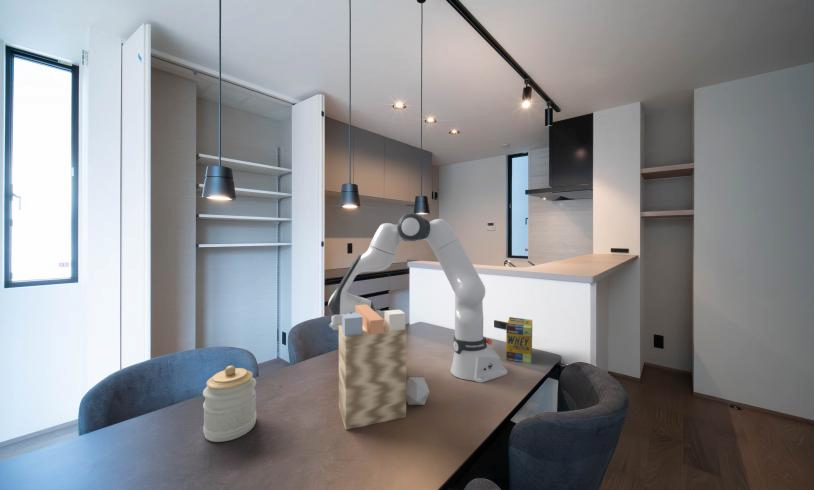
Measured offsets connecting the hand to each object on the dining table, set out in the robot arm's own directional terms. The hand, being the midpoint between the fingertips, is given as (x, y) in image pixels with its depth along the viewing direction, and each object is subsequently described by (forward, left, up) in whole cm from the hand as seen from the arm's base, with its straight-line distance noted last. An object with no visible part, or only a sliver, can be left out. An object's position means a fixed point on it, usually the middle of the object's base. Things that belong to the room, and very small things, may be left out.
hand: (364, 313), depth 105 cm
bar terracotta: (0, +6, -2) cm, 6 cm away
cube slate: (+6, +13, -2) cm, 14 cm away
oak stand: (0, +10, -28) cm, 30 cm away
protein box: (-74, -11, -28) cm, 80 cm away
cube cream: (-7, +13, -2) cm, 14 cm away
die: (-15, +10, -28) cm, 33 cm away
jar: (+39, +4, -28) cm, 48 cm away
